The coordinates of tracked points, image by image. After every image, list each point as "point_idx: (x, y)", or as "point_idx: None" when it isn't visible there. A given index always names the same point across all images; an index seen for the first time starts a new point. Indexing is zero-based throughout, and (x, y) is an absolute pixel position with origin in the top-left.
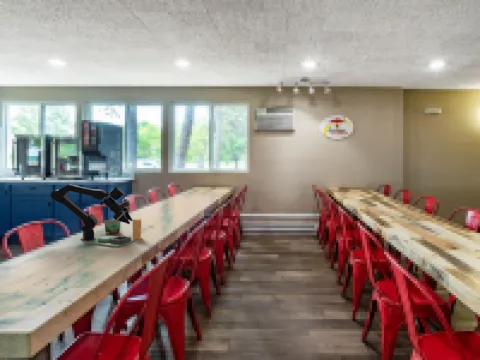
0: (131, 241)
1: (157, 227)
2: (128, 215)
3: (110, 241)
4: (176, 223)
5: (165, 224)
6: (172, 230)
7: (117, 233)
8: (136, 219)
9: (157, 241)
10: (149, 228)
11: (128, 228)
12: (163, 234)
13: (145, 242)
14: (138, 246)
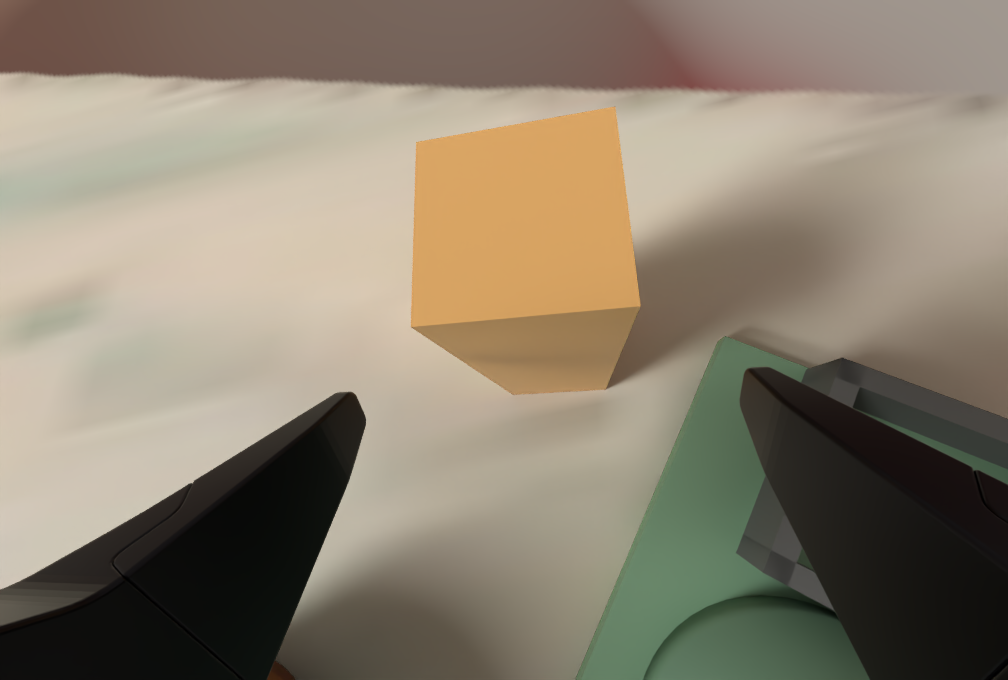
0: (791, 363)
1: (100, 248)
2: (207, 544)
3: None
4: (8, 127)
5: (10, 206)
6: (251, 91)
7: (283, 674)
8: (541, 220)
9: (691, 101)
10: (117, 316)
11: (46, 565)
12: (393, 124)
13: (749, 206)
14: (970, 235)
